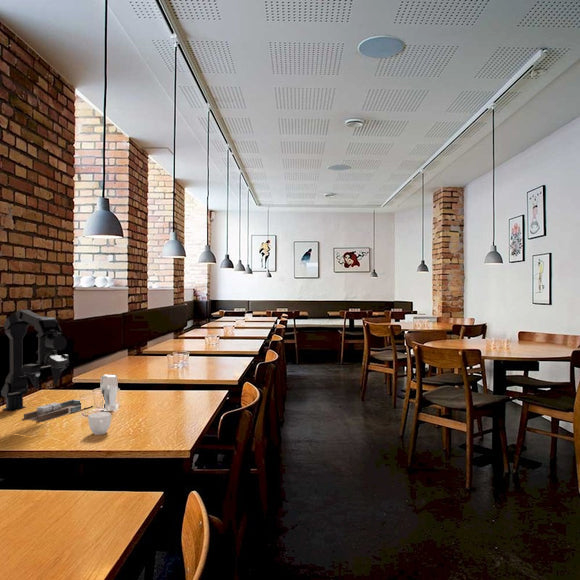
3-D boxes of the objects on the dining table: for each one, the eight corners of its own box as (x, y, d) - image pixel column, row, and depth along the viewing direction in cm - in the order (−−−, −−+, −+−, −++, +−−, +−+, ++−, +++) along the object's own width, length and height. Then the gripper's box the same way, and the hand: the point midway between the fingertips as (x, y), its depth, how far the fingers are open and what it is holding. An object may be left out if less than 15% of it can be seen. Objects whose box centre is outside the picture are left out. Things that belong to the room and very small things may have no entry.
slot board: (20, 419, 190) (20, 413, 190) (72, 405, 214) (72, 399, 214) (42, 423, 186) (42, 416, 186) (93, 407, 210) (93, 401, 210)
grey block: (46, 414, 197) (46, 404, 197) (54, 412, 200) (54, 402, 200) (53, 415, 195) (53, 405, 195) (61, 413, 199) (61, 403, 199)
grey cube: (36, 417, 193) (36, 407, 193) (45, 414, 196) (45, 405, 196) (44, 418, 191) (43, 408, 191) (52, 415, 195) (52, 406, 195)
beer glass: (120, 408, 208) (120, 374, 208) (113, 412, 201) (113, 377, 201) (105, 408, 209) (105, 374, 209) (97, 412, 202) (97, 377, 202)
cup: (110, 428, 179) (110, 410, 178) (112, 436, 170) (112, 417, 169) (87, 431, 175) (87, 413, 175) (89, 439, 166) (89, 420, 166)
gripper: (42, 352, 180) (42, 393, 180) (79, 346, 198) (79, 384, 198) (20, 351, 184) (20, 391, 184) (59, 345, 202) (59, 381, 202)
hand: (46, 386), depth 192 cm, fingers open, 9 cm apart
